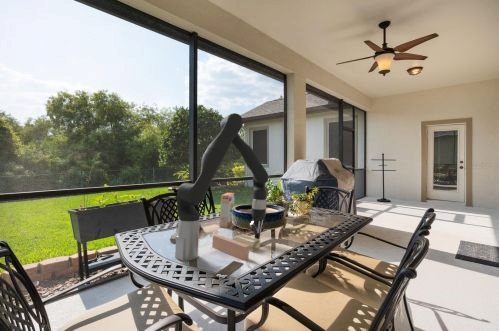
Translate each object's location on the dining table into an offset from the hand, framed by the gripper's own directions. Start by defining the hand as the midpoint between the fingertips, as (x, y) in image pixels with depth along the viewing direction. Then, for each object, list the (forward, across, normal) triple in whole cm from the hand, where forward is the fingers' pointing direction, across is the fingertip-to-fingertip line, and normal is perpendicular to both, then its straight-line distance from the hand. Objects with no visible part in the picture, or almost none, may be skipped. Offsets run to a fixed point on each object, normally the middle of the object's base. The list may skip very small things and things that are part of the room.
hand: (257, 239), depth 148 cm
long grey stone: (+3, +19, -37) cm, 42 cm away
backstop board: (+2, +20, 0) cm, 20 cm away
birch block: (+3, +8, 0) cm, 8 cm away
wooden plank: (+3, +34, +14) cm, 37 cm away
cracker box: (+3, -13, -38) cm, 40 cm away
